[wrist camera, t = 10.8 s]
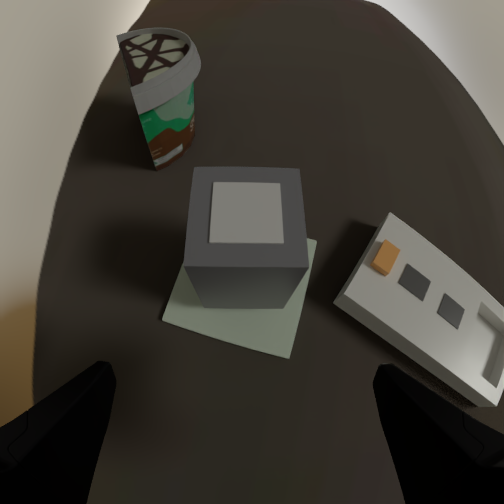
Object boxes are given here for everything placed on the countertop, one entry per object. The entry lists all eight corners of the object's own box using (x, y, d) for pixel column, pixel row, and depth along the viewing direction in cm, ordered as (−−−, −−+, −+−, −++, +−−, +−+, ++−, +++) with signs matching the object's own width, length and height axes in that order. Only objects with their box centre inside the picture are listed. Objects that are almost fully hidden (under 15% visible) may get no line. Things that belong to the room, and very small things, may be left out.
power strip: (504, 331, 20) (525, 324, 17) (478, 406, 17) (501, 406, 14) (377, 227, 24) (393, 208, 21) (332, 302, 21) (346, 291, 18)
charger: (280, 313, 20) (309, 266, 12) (206, 312, 20) (183, 265, 12) (277, 246, 22) (299, 167, 14) (209, 245, 22) (193, 165, 14)
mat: (288, 358, 19) (289, 358, 19) (163, 321, 20) (161, 320, 20) (315, 243, 23) (316, 241, 22) (204, 213, 23) (204, 210, 23)
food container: (226, 159, 26) (223, 65, 17) (160, 183, 24) (131, 92, 15) (186, 90, 30) (177, 16, 21) (136, 107, 29) (115, 34, 20)
